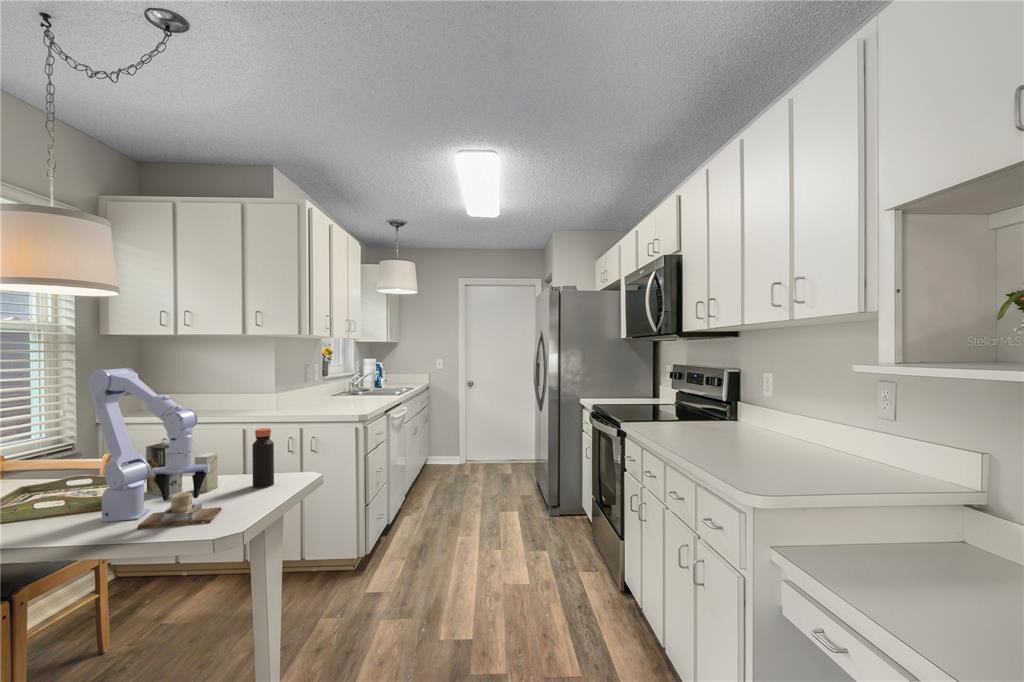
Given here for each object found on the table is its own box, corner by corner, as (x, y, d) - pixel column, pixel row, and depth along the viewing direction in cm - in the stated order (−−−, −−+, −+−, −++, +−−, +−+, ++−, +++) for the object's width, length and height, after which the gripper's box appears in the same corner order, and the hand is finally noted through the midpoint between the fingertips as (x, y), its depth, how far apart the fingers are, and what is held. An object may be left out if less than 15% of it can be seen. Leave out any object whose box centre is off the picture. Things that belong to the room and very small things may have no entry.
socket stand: (137, 529, 137) (137, 518, 137) (153, 516, 147) (153, 506, 147) (211, 522, 142) (210, 512, 142) (221, 510, 152) (221, 500, 152)
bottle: (253, 484, 178) (252, 428, 178) (274, 481, 181) (273, 427, 181) (252, 489, 172) (251, 432, 172) (273, 486, 175) (273, 430, 175)
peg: (171, 518, 142) (171, 498, 142) (176, 513, 146) (176, 493, 146) (187, 517, 143) (186, 496, 143) (192, 512, 147) (191, 492, 147)
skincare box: (207, 492, 169) (206, 457, 169) (194, 492, 169) (193, 457, 169) (218, 486, 175) (218, 452, 175) (206, 486, 175) (205, 452, 175)
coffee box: (183, 490, 171) (183, 444, 171) (165, 496, 165) (165, 448, 165) (163, 488, 174) (162, 442, 174) (145, 493, 168) (144, 446, 168)
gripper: (145, 456, 139) (146, 505, 139) (204, 453, 142) (204, 500, 143) (156, 450, 145) (157, 497, 146) (212, 448, 149) (212, 493, 149)
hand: (181, 498), depth 145 cm, fingers open, 7 cm apart
